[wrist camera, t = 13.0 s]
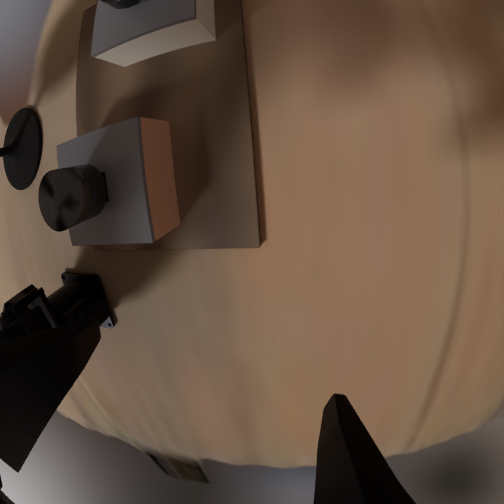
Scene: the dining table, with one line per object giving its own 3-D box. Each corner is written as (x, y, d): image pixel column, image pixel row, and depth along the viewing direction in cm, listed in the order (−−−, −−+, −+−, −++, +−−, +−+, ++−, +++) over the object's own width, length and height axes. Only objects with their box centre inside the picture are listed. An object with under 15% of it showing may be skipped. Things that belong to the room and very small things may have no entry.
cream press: (124, 67, 16) (90, 56, 12) (129, -1, 14) (101, -17, 10) (215, 40, 15) (194, 16, 11) (212, -29, 12) (194, -55, 8)
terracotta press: (104, 229, 22) (72, 245, 18) (92, 142, 19) (56, 145, 15) (180, 224, 20) (152, 243, 16) (169, 121, 18) (136, 116, 14)
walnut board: (98, 248, 24) (94, 250, 23) (87, 12, 15) (83, 11, 14) (260, 245, 21) (259, 248, 20) (236, -42, 12) (235, -46, 11)
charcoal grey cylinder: (114, 204, 20) (44, 233, 13) (108, 162, 19) (35, 176, 12) (149, 200, 20) (79, 229, 12) (143, 154, 18) (68, 164, 11)
